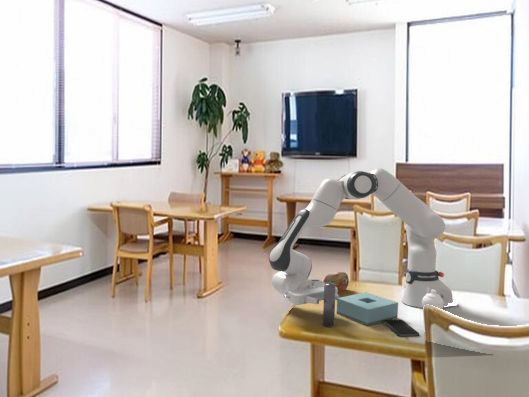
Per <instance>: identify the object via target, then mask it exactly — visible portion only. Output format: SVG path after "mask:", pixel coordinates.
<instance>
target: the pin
mask: <svg viewBox="0 0 529 397" xmlns="http://www.w3.org/2000/svg"><path fill="white" fill-rule="evenodd" d="M335 290H336V284H335V283H331V282H327V283H324V300H323V312H322V313H323V315H322V326H323V327H327V328H333V327H335V312H336V300H335Z"/></svg>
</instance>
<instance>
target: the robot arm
mask: <svg viewBox="0 0 529 397" xmlns="http://www.w3.org/2000/svg"><path fill="white" fill-rule="evenodd" d="M371 195H373V196H375V197H376V198H377V199H378V200H379V201H380V202H381V204H383V205H384V206H385V207H386V208H387V209H388V210H389V211H390V212H391V213H393V214H394V215H395V216H396V217H398V219H400V220H401V221H402V222H404V224H405V231H406V240H407V248H408V249H407V251H408V252H407V267H406V270H405V271H406V272H405V288H404V293H403V295H402V299H401V302H402V303H403V304H405V305H407V306H411V307H414V308H420V309H424V308H423V305H422V299H423V297H424V296H425V295H426V294H429V293H431V290H436V294H438V295H440V296H441V298H442V299H443V301H444V306H447V305H448V303H452V302H453V300H454V299H453V292H452V290H451V287H449V286H447V285H446V284H445V283H444V282H443V281H441V279H440V278H444V277H445V273H444V272H442V271H438V270H436V269H437V266H436V265H437V264H436V263H437V249H436V247H435V241H434V239H438V238H440V237H441V236H443V234H444V232H445V230H446V223H445V221H444V219H443V218H442V216H440V215H439V214H438V213H437V212H436V211H435V210H434V209H432V208H431V207H430V206H429V205H428V204H427V203H425V202H424V201H423V200H421V199H420V198H419V197H417V196H416V195H415V194H414V193H413V192H412V191H410V190H409V188H408V187H407V186H405V184H403V182H401V181H400V180H399V179H398V178H396V177H395V176H394V175H393V174H392V173H390V172H389V171H387V170H386V169H385V168H383V167H382V168H380V167H376V168H374V169H373V170H371V171H370V172H366V171H362V170H358V171H352V172H349V173H347V174H345V175H343V176H341V177H340V178H338V179H335V178H325V179H324V180H322V182H321V183H320V184H319V186H318V187H317V189H316V191H315V192H314V195H312V199H311V200H310V202H309V203H308V205H307V206H306V207H305V208H304V209H301V210H299V211H298V212H297V213H296V215H295V216H294V217H293V219H292V221H290V224H289V225H288V227H287V228H286V229H285V231H284V233H283V234H282V236H281V237H280V239H279V241H278V243H276V245H274V247H273V248H272V249H271V250H270V253H269V255H268V262H269V265H270V267H271V268H272V270H274V271H276V272H275V273H274V274H273V276H272V278H271V286H272V289H273V290H274V291H276V293H278V294H280V295H281V296H283V297H284V298H286V299H287V301H288V302H290V303H291V304H294V305H295V306H302V305H305V304H313V305H319V304H320V302H321V301H324V283H323V280H321V279H309V277H310V275H311V272H312V269H313V268H312V267H313V263H312V260H311V258H310V257H309V256H308V255H306V254H305V253H302V252H299V251H297V250H295V249H293V247H294V246H295V244H296V242H297V241H298V240H299V238H300V236H301V234H302V233H303V232H304V231H305V230H306V229H308V228H312V227H313V228H314V227H315V228H317V227H319V228H320V227H325V226H327V225H329V224H331V223H332V222H333V220H334V219H335V217H336V214H337V212H338V209H339V208H340V206H341V203H342V202H343V201H344V199H345V200H361V199H364V198H367V197H369V196H371ZM277 271H278V272H277ZM339 298H340V296H339V292H338V289H337V287H336V290H335V301H337V300H338V299H339ZM444 306H443V307H444Z"/></svg>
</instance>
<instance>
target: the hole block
mask: <svg viewBox="0 0 529 397" xmlns="http://www.w3.org/2000/svg"><path fill="white" fill-rule="evenodd" d="M398 311H399V302H397V301H394V300H391V299H388V298H385V297H383V296H379V295H375V294H373V293H370V292H367V291H366V292H362V293H361V292H360V293H357V294H350V295H347V296H342V297H339V299H338V300H336V314H337V315H339V316H342V317H344V318H347V319H349V320H352V321H354V322H357V323H360V324H362V325H365V326H368V327H369V326H372V325H373V326H374V325H376V324H380V323H383V320H397V319H398V315H399V314H398Z"/></svg>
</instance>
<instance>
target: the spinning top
mask: <svg viewBox="0 0 529 397" xmlns="http://www.w3.org/2000/svg"><path fill="white" fill-rule="evenodd" d="M426 304H429V305H433V306H435V307H438V308H440V309H444V308H443V306H444V301H443V299H442V298H441V296H440V295H438V294H436V290H431V293H429V294H426V295H425V296H424V297H423V299H422V305H423V307H424V305H426Z"/></svg>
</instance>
